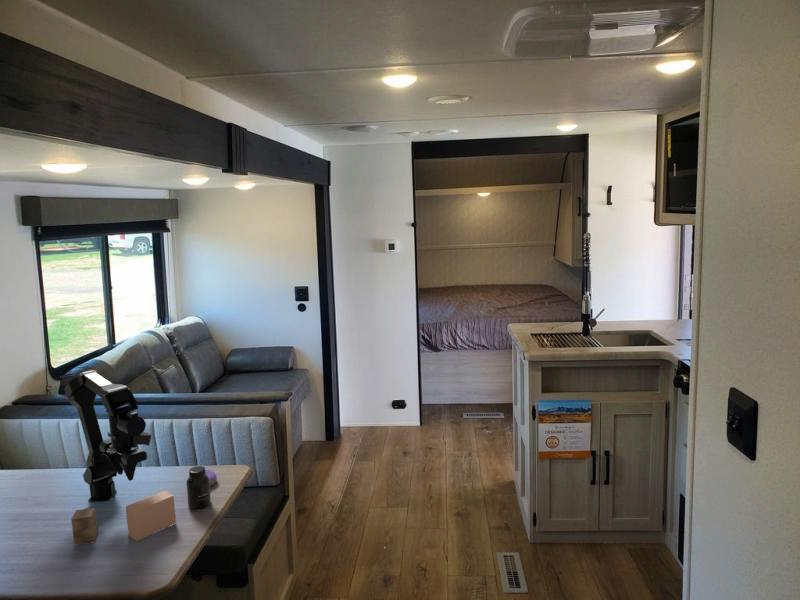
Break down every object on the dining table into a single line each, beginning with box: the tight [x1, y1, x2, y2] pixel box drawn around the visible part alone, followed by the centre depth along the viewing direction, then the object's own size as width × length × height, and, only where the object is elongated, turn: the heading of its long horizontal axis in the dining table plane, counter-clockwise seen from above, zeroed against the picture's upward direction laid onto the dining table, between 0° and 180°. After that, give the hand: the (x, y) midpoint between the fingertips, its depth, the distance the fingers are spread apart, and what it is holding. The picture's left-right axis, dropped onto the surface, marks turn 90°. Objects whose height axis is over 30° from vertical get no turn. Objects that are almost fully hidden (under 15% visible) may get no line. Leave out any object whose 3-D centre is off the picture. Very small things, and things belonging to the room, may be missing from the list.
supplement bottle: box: [185, 465, 212, 511], centre depth 193 cm, size 7×7×12 cm
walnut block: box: [71, 507, 99, 545], centre depth 176 cm, size 5×5×8 cm
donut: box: [205, 469, 218, 488], centre depth 208 cm, size 10×9×5 cm
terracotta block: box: [125, 490, 177, 542], centre depth 180 cm, size 5×12×9 cm, turn 139°
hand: (125, 477), depth 188 cm, fingers open, 6 cm apart
